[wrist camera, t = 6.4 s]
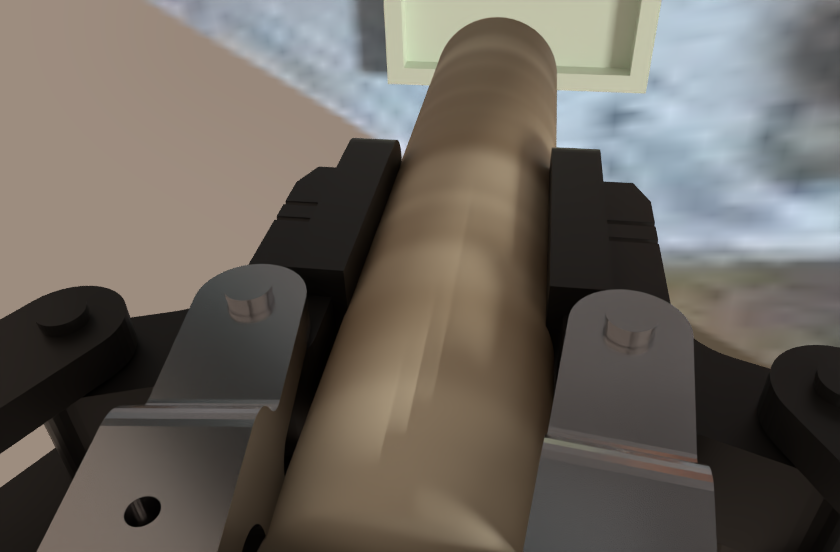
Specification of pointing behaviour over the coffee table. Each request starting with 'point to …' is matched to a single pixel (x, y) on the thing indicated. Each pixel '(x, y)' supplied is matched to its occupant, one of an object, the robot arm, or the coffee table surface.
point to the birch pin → (443, 327)
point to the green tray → (552, 18)
